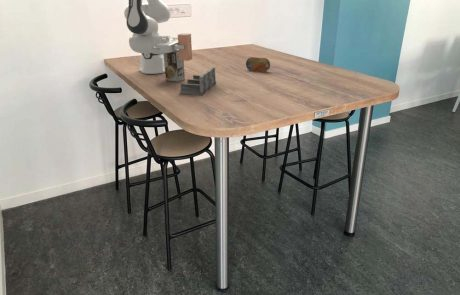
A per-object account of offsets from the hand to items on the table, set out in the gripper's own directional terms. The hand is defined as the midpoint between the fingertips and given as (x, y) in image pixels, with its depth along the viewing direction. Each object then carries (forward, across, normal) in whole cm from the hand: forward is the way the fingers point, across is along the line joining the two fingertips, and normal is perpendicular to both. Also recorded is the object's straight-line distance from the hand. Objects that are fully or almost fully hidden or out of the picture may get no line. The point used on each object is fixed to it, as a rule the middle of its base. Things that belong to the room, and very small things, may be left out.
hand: (186, 46), depth 179 cm
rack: (+3, +5, +22) cm, 23 cm away
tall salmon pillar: (-1, 0, +6) cm, 7 cm away
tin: (+25, +49, +22) cm, 59 cm away
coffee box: (-16, +18, +22) cm, 33 cm away
